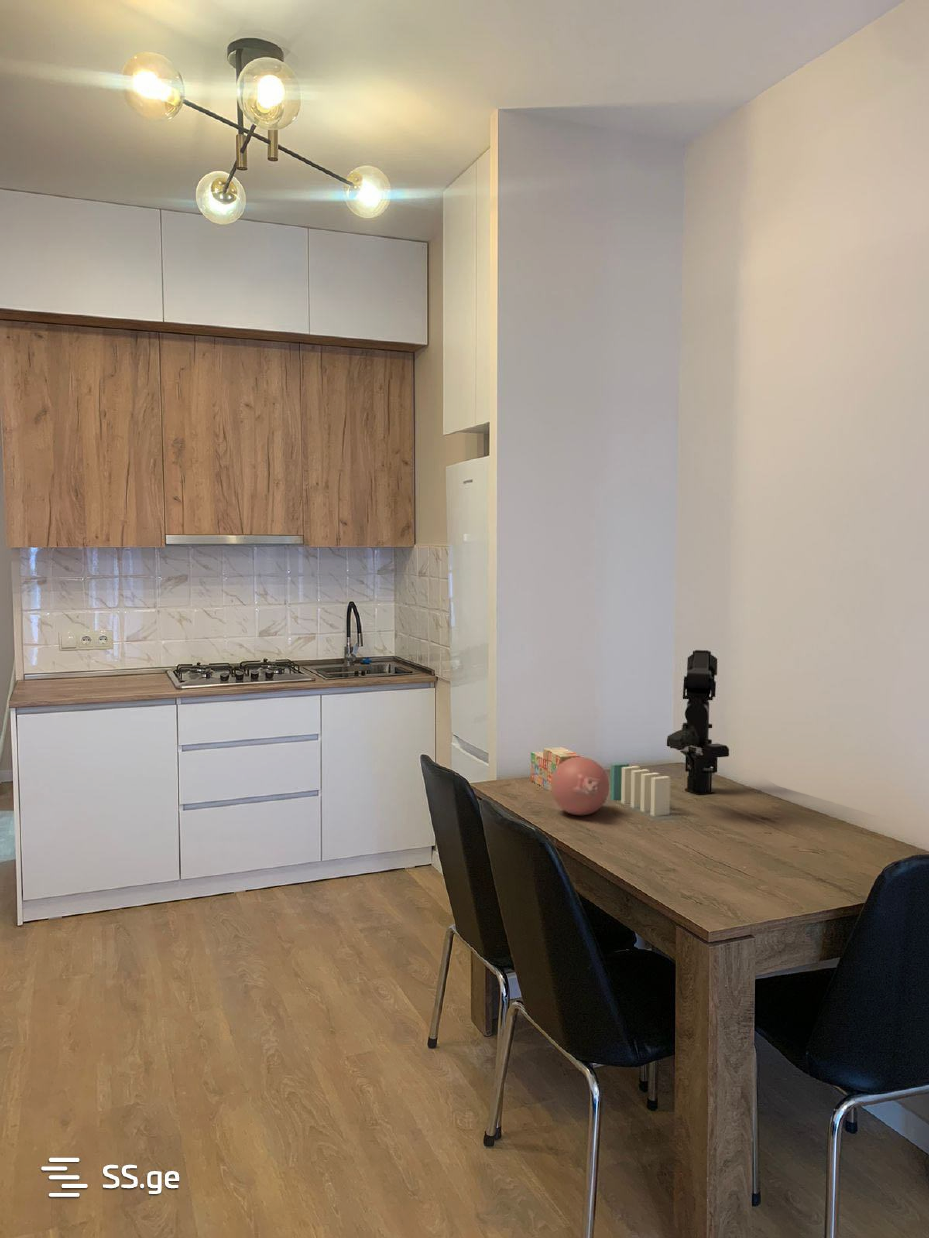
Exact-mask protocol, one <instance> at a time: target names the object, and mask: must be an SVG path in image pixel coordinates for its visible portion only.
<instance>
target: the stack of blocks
mask: <svg viewBox="0 0 929 1238" xmlns="http://www.w3.org/2000/svg"><path fill="white" fill-rule="evenodd" d="M542 749H543V750H541V751H532V752H530V771H531V773H530V781H531V780H533V781H535V783H537V784H540V785H541V786H543V787H546V788H547V789H548V790H551V780H552V776H553V774H554V772H555V770H556V769H557V767H558V766H559V765H560V764H561V763H563V762H564V761H566V760H568V759H570V758H574V757H581V756H580V754H577V753H576V752H574V751H572V750H569V749H567V748H566V747H565V748H564V747H563V746H558V747H557V746H556V747H555V746H554V747H544V748H542ZM535 783H534V784H535ZM537 784H536V785H537Z"/></svg>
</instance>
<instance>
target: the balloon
mask: <svg viewBox="0 0 929 1238" xmlns="http://www.w3.org/2000/svg"><path fill="white" fill-rule="evenodd" d="M551 791H552V792H551V794H552V797H553V799H554V801H555V803H556V805H557V806H558V807H560V809H562V810H563V811H564V812H566V813H568V814H571V815H573V816H587V815H591V814H593V813H595V812H596V811H598V810H599V809H600V808H602V806H603V805H604V804H605V802H606V800H607V796H609V793H610V792H609V791H610V782H609V777H608V775H607V772H606V771H605V769H604V768H603V767H602V766H601V764H599V763H598V762H597V761H595V760H593V759H592V758H588V757H584V756H580V757H574V758H570V759H568V760H566V761H564V762H563V763H561V764H560V765H559V766H558V767H557V769H556V770H555V772H554V774H553V776H552V780H551Z"/></svg>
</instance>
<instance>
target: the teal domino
mask: <svg viewBox="0 0 929 1238" xmlns="http://www.w3.org/2000/svg"><path fill="white" fill-rule="evenodd" d="M622 767H630V764H629V763H628V762H621V763H611V764H610V792H609V793H610V794H609V795H610V799H612V800H621V782H622Z"/></svg>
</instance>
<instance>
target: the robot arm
mask: <svg viewBox="0 0 929 1238" xmlns="http://www.w3.org/2000/svg"><path fill="white" fill-rule="evenodd" d="M716 676H718V658H717V657H716V656H714V655H713V654H712V651H710V650H706V649H704V650H703V649H695V650H693V651H692V654H691V655H689V656H688V657H687V662H686V675H684V676H683V687H682V700H688V701H686V709H685V711H684V718H685V720H686V722H683V723H682V727H681V729H680V730H677V731H674V732H673V733H671V734H669V735H667V737H666V746H667V747H668V748H670V749H673V750H677V751H680V753H681V754H683V755H684V756H685V767H684V768H685V769H684V770H685V772H688V775H687V777H686V778H687V780H686V787H685V788H684V791H686V790H687V791H686V792H689V793H692V794H695V795H707V794H715V793H716V791H715V790H713V789H712V784H713V783H712V782H713V781H712V780H713V774H717V773H718V758H728V757H729V756H730V748H729V747H728V746H727V745H725V744H722V743H713V739H710V738H709V736H710V735H709V734H710V733H709V732H710V731H709V730H710V729H713V724H712V723H710V702H709V701H713V700H714V698H716V692H717V691H716V690H717V689H716V688H717V687H716V686H717V681H716V680H715V677H716Z"/></svg>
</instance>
